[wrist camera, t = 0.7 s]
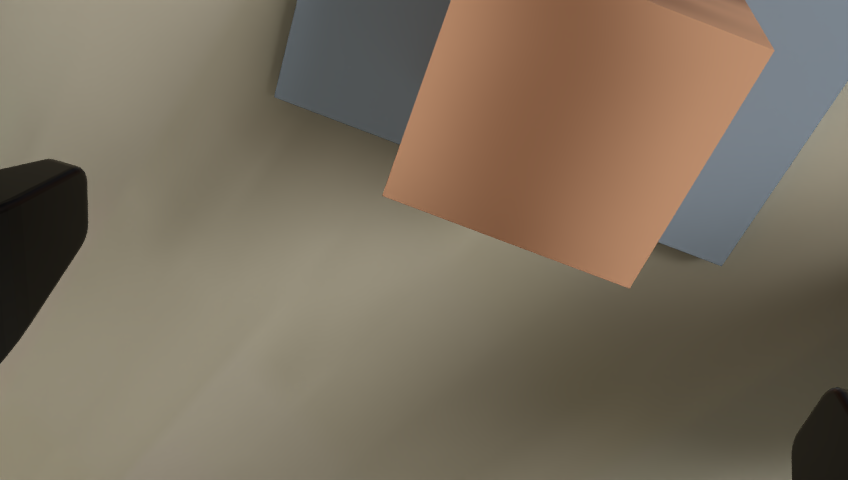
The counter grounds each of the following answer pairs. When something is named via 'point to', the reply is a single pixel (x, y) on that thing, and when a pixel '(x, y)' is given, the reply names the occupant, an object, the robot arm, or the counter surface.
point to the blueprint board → (718, 180)
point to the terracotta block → (575, 120)
